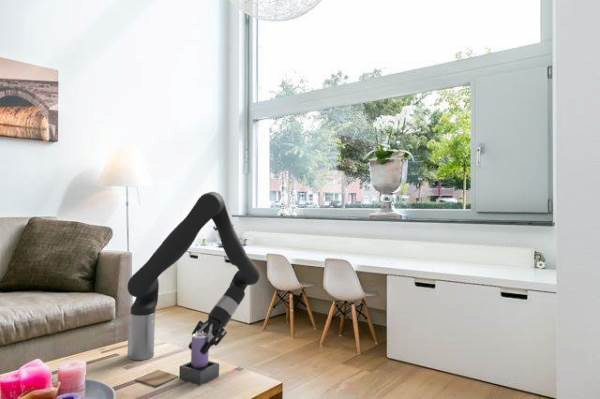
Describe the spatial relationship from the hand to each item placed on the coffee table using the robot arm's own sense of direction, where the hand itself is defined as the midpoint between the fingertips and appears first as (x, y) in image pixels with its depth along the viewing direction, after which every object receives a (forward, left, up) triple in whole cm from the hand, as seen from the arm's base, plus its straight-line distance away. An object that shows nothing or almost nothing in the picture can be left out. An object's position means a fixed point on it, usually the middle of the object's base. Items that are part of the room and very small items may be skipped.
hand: (196, 350), depth 152 cm
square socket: (0, +2, -10) cm, 10 cm away
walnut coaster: (-11, -7, -10) cm, 16 cm away
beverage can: (0, +2, -10) cm, 10 cm away
